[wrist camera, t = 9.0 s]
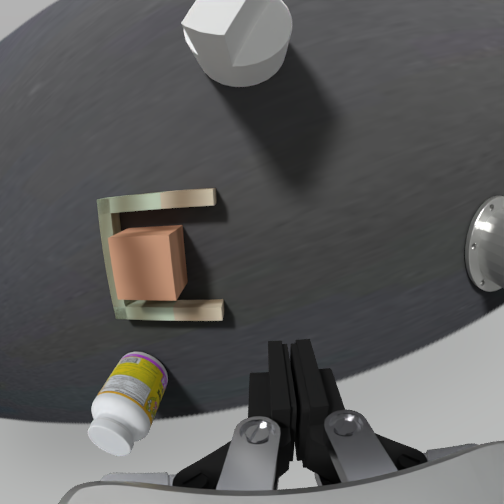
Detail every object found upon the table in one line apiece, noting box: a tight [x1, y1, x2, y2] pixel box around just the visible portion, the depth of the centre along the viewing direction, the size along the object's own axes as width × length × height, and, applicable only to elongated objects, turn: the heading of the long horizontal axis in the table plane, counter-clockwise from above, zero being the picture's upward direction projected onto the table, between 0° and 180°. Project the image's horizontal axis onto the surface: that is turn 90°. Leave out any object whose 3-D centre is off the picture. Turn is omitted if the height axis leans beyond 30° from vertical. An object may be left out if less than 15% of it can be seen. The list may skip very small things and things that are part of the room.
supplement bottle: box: [88, 352, 168, 456], centre depth 28 cm, size 7×7×13 cm
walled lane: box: [97, 188, 224, 321], centre depth 29 cm, size 12×13×2 cm
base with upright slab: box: [181, 0, 292, 87], centre depth 19 cm, size 9×9×12 cm
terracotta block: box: [108, 225, 188, 301], centre depth 28 cm, size 6×6×5 cm
